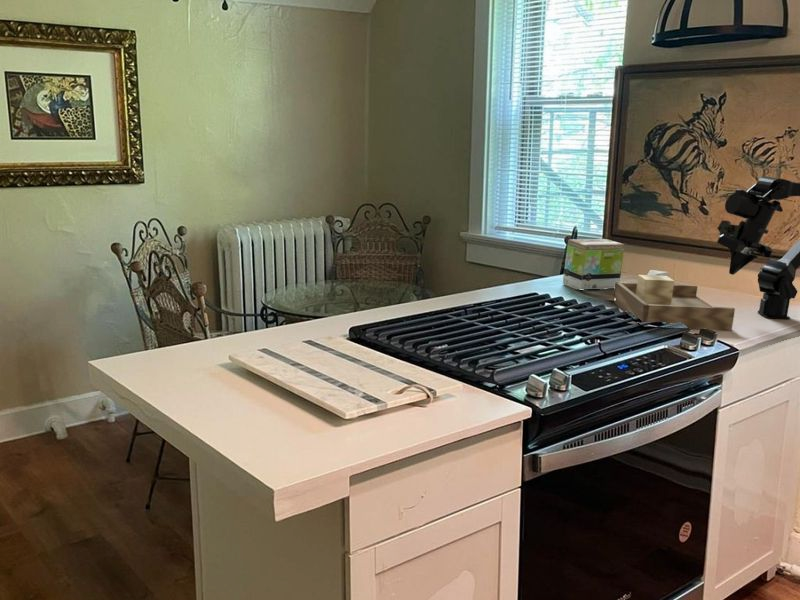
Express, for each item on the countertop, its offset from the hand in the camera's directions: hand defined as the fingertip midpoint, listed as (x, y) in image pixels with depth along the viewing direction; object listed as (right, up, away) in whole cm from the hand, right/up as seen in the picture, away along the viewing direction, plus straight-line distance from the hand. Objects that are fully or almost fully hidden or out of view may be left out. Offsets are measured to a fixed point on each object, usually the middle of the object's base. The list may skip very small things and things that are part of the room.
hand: (731, 274), depth 217 cm
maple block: (-22, -8, -1) cm, 24 cm away
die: (-14, -7, +20) cm, 26 cm away
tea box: (-32, -3, +30) cm, 44 cm away
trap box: (-18, -12, 0) cm, 21 cm away
